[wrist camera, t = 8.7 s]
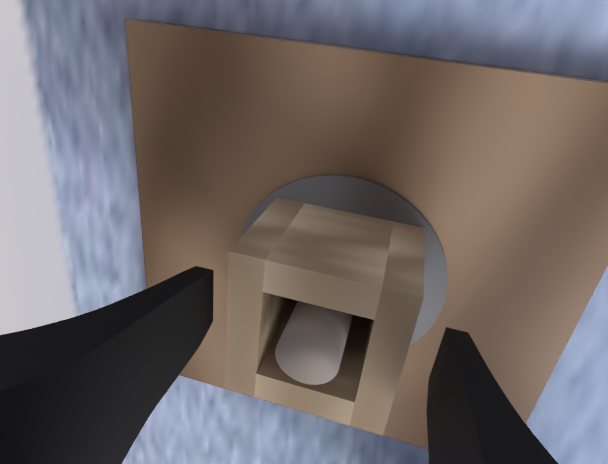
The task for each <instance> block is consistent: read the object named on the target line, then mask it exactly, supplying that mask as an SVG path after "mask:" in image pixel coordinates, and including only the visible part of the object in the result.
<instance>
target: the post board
mask: <svg viewBox="0 0 608 464" xmlns="http://www.w3.org/2000/svg"><path fill="white" fill-rule="evenodd" d="M125 26H126V39H127V51H128V64H129V76H130V88H131V101H132V113H133V125H134V138H135V150H136V163H137V175H138V187H139V200H140V212H141V224H142V237H143V249H144V262H145V274H146V286H147V288H149V287H152V286H154V285H156V284H158V283H160V282H162V281H164V280H166V279H168V278H171V277H173V276H175V275H177V274H179V273H181V272H183V271H185V270H187V269H190V268H192V267H195V266H199V267H203V268H207V269H211V270H214V282H213V322H212V324H211V326H210V328H209V330H208V332H207V334H206V336H205V338H204V339H203V341H202V343H201V345H200V346H199V348H198V349H197V351H196V352H195V354H194V355H193V356H192V358H191V359H190V361H189V362H188V363H187V365H186V366H185V367H184V369H183V370H182V371H181V373H180V374H179V375H181V376H184V377H187V378H191V379H194V380H198V381H201V382H204V383H208V384H211V385H214V386H218V387H221V388H224V386H225V354H226V322H227V291H228V259H229V250H230V249H231V248H232V247H233V246H234V245H235V244H236V242H237V241H238V240H239V239H240V238H241V237H242V236H243V235H244V234H245V232H246V231H247V230H248V229H249V228H250V227H251V226H252V225H253V223H254V222H255V221H256V220H257V219H258V218H259V217H260V216H261V214H262V213H263V212H264V211H265V210H266V209H267V208H268V207H269V206H270V204H271V203H272V202H273V201H274V200H275V199H276V198H277V197H278V198H283V199H287V200H292V201H297V202H302V203H307V204H311V205H316V206H321V207H326V208H331V209H335V210H340V211H345V212H350V213H355V214H359V215H364V216H369V217H374V218H379V219H383V220H388V221H393V222H398V223H403V224H408V225H412V226H417V227H422V228H425V247H424V299H423V302H422V306H421V309H420V312H419V316H418V319H417V323H416V326H415V329H414V333H413V336H412V339H411V343H410V346H409V349H408V353H407V356H406V360H405V363H404V366H403V370H402V373H401V376H400V380H399V383H398V386H397V390H396V393H395V397H394V400H393V403H392V407H391V410H390V413H389V417H388V420H387V423H386V427H385V430H384V433H383V436H385V437H389V438H392V439H395V440H399V441H402V442H405V443H409V444H412V445H415V446H419V447H422V448H425V449H428V432H427V412H426V411H427V395H428V381H429V376H430V374H431V371H432V368H433V365H434V362H435V359H436V356H437V353H438V350H439V347H440V344H441V341H442V338H443V335H444V332H445V329H446V327H448V328H452V329H456V330H461V331H465V332H468V333H469V334H470V336H471V338H472V339H473V341H474V343H475V345H476V347H477V348H478V350H479V352H480V354H481V356H482V357H483V359H484V361H485V363H486V364H487V366H488V368H489V369H490V371H491V373H492V374H493V376H494V378H495V379H496V381H497V383H498V384H499V386H500V387H501V389H502V390H503V392H504V394H505V395H506V397H507V398H508V400H509V401H510V403H511V404H512V406H513V407H514V409H515V410H516V411H517V413H518V414H519V416H520V417H521V418H522V420H523V421H524V423H525V424H526V422H527V420H528V418H529V416H530V414H531V412H532V410H533V408H534V406H535V405H536V403H537V401H538V399H539V397H540V395H541V393H542V391H543V389H544V387H545V385H546V383H547V381H548V379H549V377H550V376H551V374H552V372H553V370H554V368H555V366H556V364H557V362H558V360H559V358H560V356H561V354H562V352H563V350H564V348H565V347H566V345H567V343H568V341H569V339H570V337H571V335H572V333H573V331H574V329H575V327H576V325H577V323H578V321H579V319H580V318H581V316H582V314H583V312H584V310H585V308H586V306H587V304H588V302H589V300H590V298H591V296H592V294H593V292H594V290H595V288H596V287H597V285H598V283H599V281H600V279H601V277H602V275H603V273H604V271H605V269H606V267H607V265H608V81H602V80H595V79H587V78H579V77H572V76H564V75H557V74H549V73H542V72H534V71H526V70H519V69H511V68H504V67H496V66H488V65H481V64H473V63H466V62H458V61H450V60H443V59H435V58H428V57H420V56H413V55H405V54H397V53H390V52H382V51H375V50H367V49H359V48H352V47H344V46H337V45H329V44H321V43H314V42H306V41H299V40H291V39H284V38H276V37H268V36H261V35H253V34H246V33H238V32H230V31H223V30H215V29H208V28H200V27H192V26H185V25H177V24H170V23H162V22H155V21H147V20H126V19H125ZM352 317H353V315H352V314H348V313H344V312H341V311H337V310H333V309H329V308H325V307H321V306H317V305H313V304H309V303H305V302H301V301H297V303H296V305H295V308H294V310H293V312H292V314H291V316H290V318H289V320H288V322H287V324H286V327H285V329H284V331H283V333H282V335H281V337H280V339H279V341H278V343H277V346H276V349H275V357H276V360H277V363H278V365H279V366H280V368H281V369H282V370H283V371H284V372H285V373H286V374H287V375H288V376H289V377H291V378H292V379H294V380H296V381H298V382H301V383H304V384H310V385H320V384H324V383H327V382H329V381H331V380H332V379H333V378H334V377H335V376H336V375H337V373H338V370H339V367H340V363H341V359H342V355H343V351H344V348H345V344H346V340H347V336H348V332H349V328H350V324H351V321H352ZM224 389H225V388H224ZM228 390H229V389H228ZM231 391H232V390H231ZM234 392H235V391H234ZM238 393H239V392H238ZM241 394H242V393H241ZM244 395H245V394H244ZM251 397H252V396H251ZM261 400H262V399H261ZM271 403H272V402H271ZM281 406H282V405H281ZM291 409H292V408H291ZM301 412H302V411H301Z"/></svg>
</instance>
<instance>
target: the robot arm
mask: <svg viewBox="0 0 608 464" xmlns="http://www.w3.org/2000/svg"><path fill="white" fill-rule="evenodd" d="M213 282H214V270H211V269H207V268H203V267H199V266H195V267H192V268H190V269H187V270H185V271H183V272H181V273H179V274H177V275H175V276H173V277H171V278H168V279H166V280H164V281H162V282H160V283H158V284H156V285H154V286H152V287H149V288H147V289H145V290H143V291H141V292H139V293H136V294H134V295H132V296H129V297H127V298H124V299H122V300H120V301H117V302H115V303H113V304H110V305H108V306H105V307H102V308H100V309H97V310H94V311H91V312H88V313H85V314H82V315H79V316H76V317H73V318H70V319H66V320H63V321H59V322H56V323H51V324H48V325H44V326H40V327H36V328H32V329H28V330H24V331H19V332H14V333H9V334H4V335H0V464H122V462H123V460H124V458H125V457H126V455H127V453H128V451H129V449H130V448H131V446H132V444H133V442H134V441H135V439H136V437H137V436H138V434H139V432H140V431H141V429H142V427H143V426H144V424H145V422H146V421H147V419H148V417H149V416H150V414H151V413H152V411H153V410H154V408H155V407H156V405H157V404H158V402H159V401H160V400H161V398H162V397H163V396H164V394H165V393H166V392H167V390H168V389H169V388H170V386H171V385H172V384H173V382H174V381H175V380H176V378H177V377H178V375H179V374H180V373H181V371H182V370H183V369H184V367H185V366H186V365H187V363H188V362H189V361H190V359H191V358H192V356H193V355H194V354H195V352H196V351H197V349H198V348H199V346H200V345H201V343H202V341H203V339H204V338H205V336H206V334H207V332H208V330H209V328H210V326H211V324H212V322H213ZM426 412H427V432H428V450H429V464H558V463H557V462H556V461H555V460H554V458H553V457H552V456H551V455H550V454H549V453H548V451H547V450H546V449H545V448H544V446H543V445H542V444H541V443H540V442H539V440H538V439H537V438H536V437H535V436H534V434H533V433H532V432H531V430H530V429H529V428H528V427H527V425H526V424H525V423H524V421H523V420H522V418H521V417H520V416H519V414H518V413H517V411H516V410H515V409H514V407H513V406H512V404H511V403H510V401H509V400H508V398H507V397H506V395H505V394H504V392H503V390H502V389H501V387H500V386H499V384H498V383H497V381H496V379H495V378H494V376H493V374H492V373H491V371H490V369H489V368H488V366H487V364H486V363H485V361H484V359H483V357H482V356H481V354H480V352H479V350H478V348H477V347H476V345H475V343H474V341H473V339H472V338H471V336H470V334H469V333H468V332H465V331H461V330H456V329H452V328H448V327H446V329H445V332H444V335H443V338H442V341H441V344H440V347H439V350H438V353H437V356H436V359H435V362H434V365H433V368H432V371H431V374H430V376H429V381H428V395H427V411H426Z"/></svg>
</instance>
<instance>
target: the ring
mask: <svg viewBox="0 0 608 464" xmlns="http://www.w3.org/2000/svg"><path fill="white" fill-rule="evenodd" d="M424 247H425V228H422V227H417V226H412V225H408V224H403V223H398V222H393V221H388V220H383V219H379V218H374V217H369V216H364V215H359V214H355V213H350V212H345V211H340V210H335V209H331V208H326V207H321V206H316V205H311V204H307V203H302V202H297V201H292V200H287V199H283V198H278V197H277V198H276V199H275V200H274V201H273V202H272V203H271V204H270V206H269V207H268V208H267V209H266V210H265V211H264V212H263V213H262V214H261V216H260V217H259V218H258V219H257V220H256V221H255V222H254V223H253V225H252V226H251V227H250V228H249V229H248V230H247V231H246V232H245V234H244V235H243V236H242V237H241V238H240V239H239V240H238V241H237V242H236V244H235V245H234V246H233V247H232V248H231V249H230V250H229V259H228V291H227V322H226V354H225V386H224V388H225V389H229V390H232V391H235V392H239V393H242V394H245V395H248V396H252V397H255V398H258V399H262V400H265V401H268V402H272V403H275V404H278V405H282V406H285V407H288V408H292V409H295V410H298V411H302V412H305V413H308V414H312V415H315V416H318V417H322V418H325V419H328V420H331V421H335V422H338V423H341V424H345V425H348V426H351V427H355V428H358V429H361V430H365V431H368V432H371V433H375V434H378V435H381V436H383V433H384V430H385V427H386V423H387V420H388V417H389V413H390V410H391V407H392V403H393V400H394V397H395V393H396V390H397V386H398V383H399V380H400V376H401V373H402V370H403V366H404V363H405V360H406V356H407V353H408V349H409V346H410V343H411V339H412V336H413V333H414V329H415V326H416V323H417V319H418V316H419V312H420V309H421V306H422V302H423V299H424ZM297 301H301V302H305V303H309V304H313V305H317V306H321V307H325V308H329V309H333V310H337V311H341V312H344V313H348V314H352V315H353V317H352V321H351V324H350V328H349V332H348V336H347V340H346V344H345V348H344V351H343V355H342V359H341V363H340V367H339V370H338V373H337V375H336V376H335V377H334V378H333V379H332V380H331V381H329V382H327V383H324V384H320V385H310V384H304V383H301V382H298V381H296V380H294V379H292V378H291V377H289V376H288V375H287V374H286V373H285V372H284V371H283V370H282V369H281V368H280V366H279V365H278V363H277V360H276V357H275V349H276V346H277V343H278V341H279V339H280V337H281V335H282V333H283V331H284V329H285V327H286V324H287V322H288V320H289V318H290V316H291V314H292V312H293V310H294V308H295V305H296V303H297Z"/></svg>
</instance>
